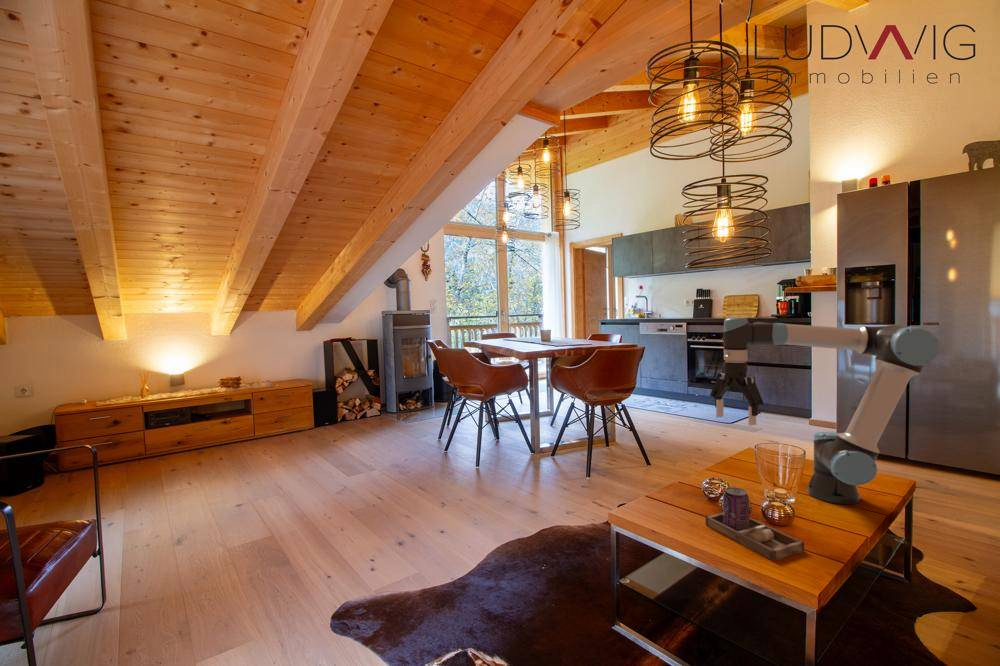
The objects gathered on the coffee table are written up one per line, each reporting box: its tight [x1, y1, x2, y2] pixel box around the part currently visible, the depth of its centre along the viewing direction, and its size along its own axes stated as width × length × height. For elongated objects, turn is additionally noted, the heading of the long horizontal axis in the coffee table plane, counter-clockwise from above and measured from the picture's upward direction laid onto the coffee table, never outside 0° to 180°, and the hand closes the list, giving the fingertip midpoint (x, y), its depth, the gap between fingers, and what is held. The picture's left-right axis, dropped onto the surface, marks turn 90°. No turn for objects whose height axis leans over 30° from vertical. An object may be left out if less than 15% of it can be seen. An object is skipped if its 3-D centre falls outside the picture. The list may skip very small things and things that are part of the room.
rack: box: [705, 512, 805, 562], centre depth 135 cm, size 12×23×4 cm, turn 22°
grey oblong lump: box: [748, 529, 774, 543], centre depth 132 cm, size 7×3×3 cm
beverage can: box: [722, 486, 750, 531], centre depth 140 cm, size 7×7×12 cm
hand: (735, 420), depth 163 cm, fingers open, 13 cm apart
